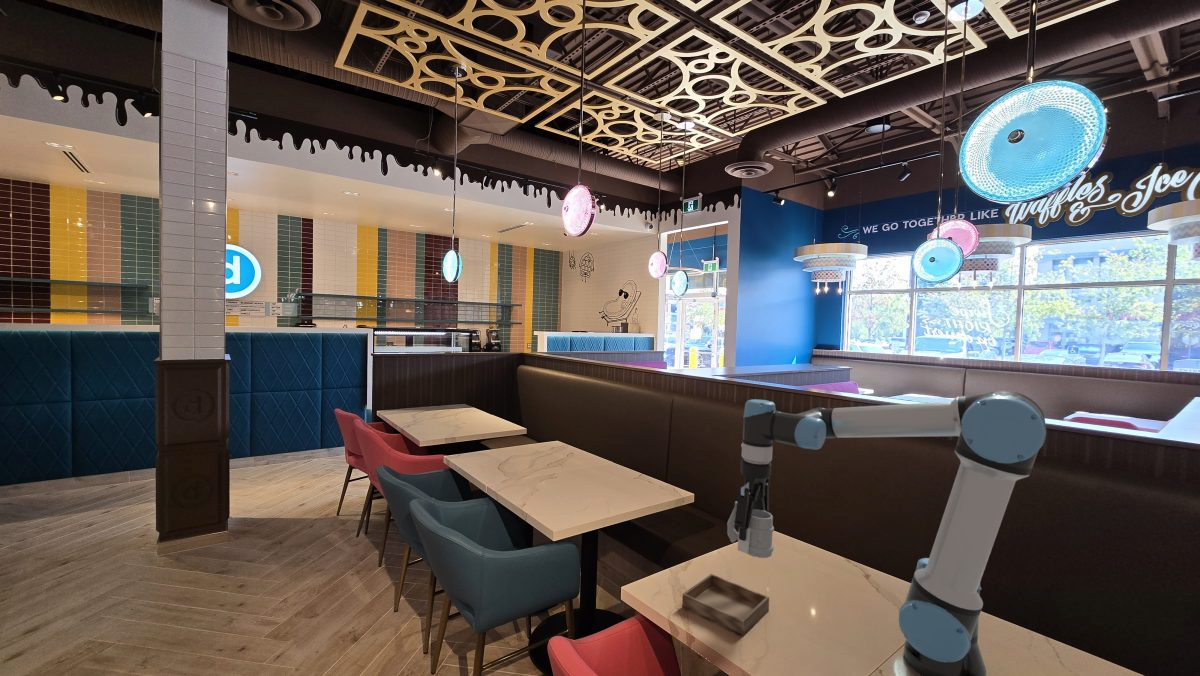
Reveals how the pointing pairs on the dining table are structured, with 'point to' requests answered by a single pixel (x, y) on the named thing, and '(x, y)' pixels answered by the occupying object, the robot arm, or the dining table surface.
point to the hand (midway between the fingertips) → (750, 546)
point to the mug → (755, 532)
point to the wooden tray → (726, 604)
